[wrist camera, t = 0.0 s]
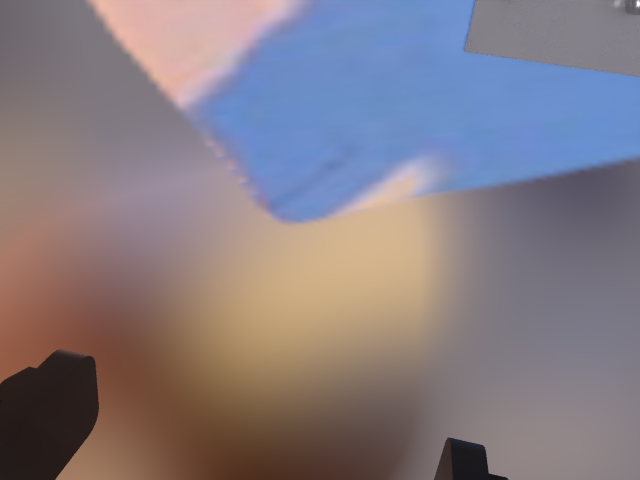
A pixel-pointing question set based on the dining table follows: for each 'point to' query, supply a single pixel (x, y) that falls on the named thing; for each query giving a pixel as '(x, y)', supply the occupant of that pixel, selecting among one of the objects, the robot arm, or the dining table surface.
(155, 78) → the dining table surface
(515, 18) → the plate
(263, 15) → the dining table surface
